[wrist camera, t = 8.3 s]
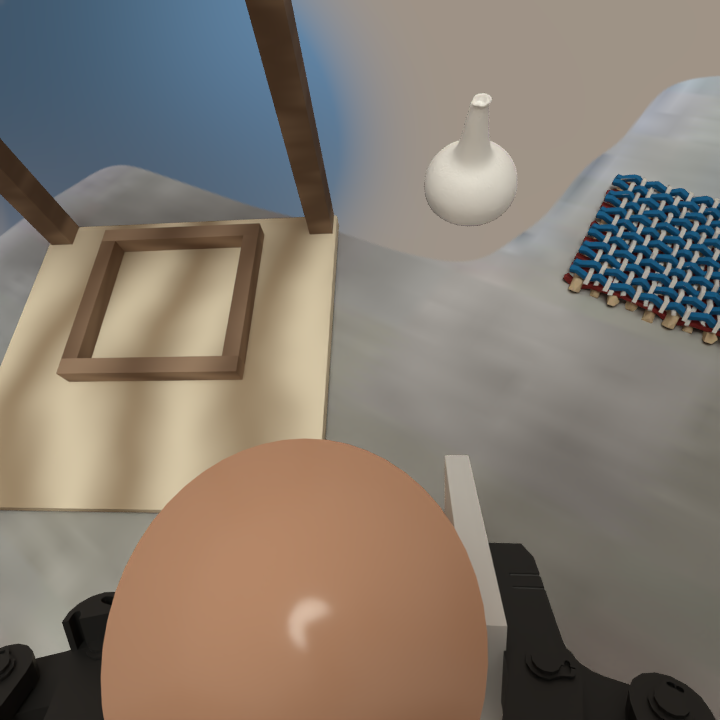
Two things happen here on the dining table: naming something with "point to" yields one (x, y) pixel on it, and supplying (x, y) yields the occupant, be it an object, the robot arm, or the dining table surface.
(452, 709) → the tan cylinder
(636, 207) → the woven mat
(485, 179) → the garlic bulb
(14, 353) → the wooden c-frame stand
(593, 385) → the dining table surface
